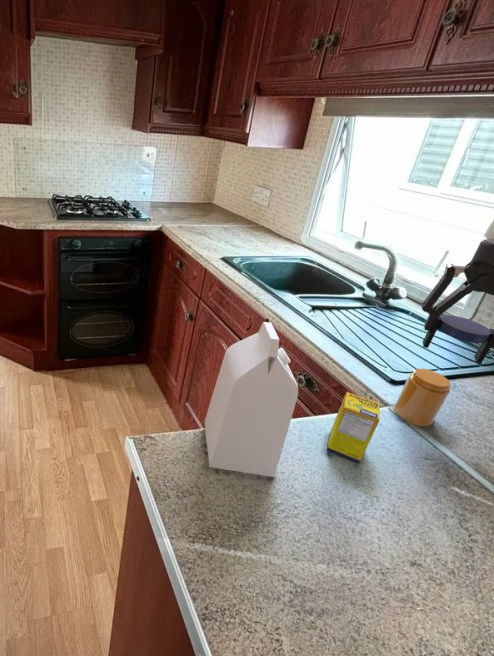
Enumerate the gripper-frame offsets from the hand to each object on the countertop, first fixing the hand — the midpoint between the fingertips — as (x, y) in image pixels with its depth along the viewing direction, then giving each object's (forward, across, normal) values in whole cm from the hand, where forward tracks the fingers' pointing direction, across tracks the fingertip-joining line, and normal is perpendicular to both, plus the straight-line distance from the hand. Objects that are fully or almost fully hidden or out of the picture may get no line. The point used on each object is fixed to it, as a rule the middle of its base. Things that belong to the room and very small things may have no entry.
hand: (450, 352), depth 81 cm
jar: (+19, 0, -4) cm, 19 cm away
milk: (+19, +30, +32) cm, 48 cm away
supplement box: (+19, +13, +19) cm, 29 cm away
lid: (-6, 0, 0) cm, 6 cm away
